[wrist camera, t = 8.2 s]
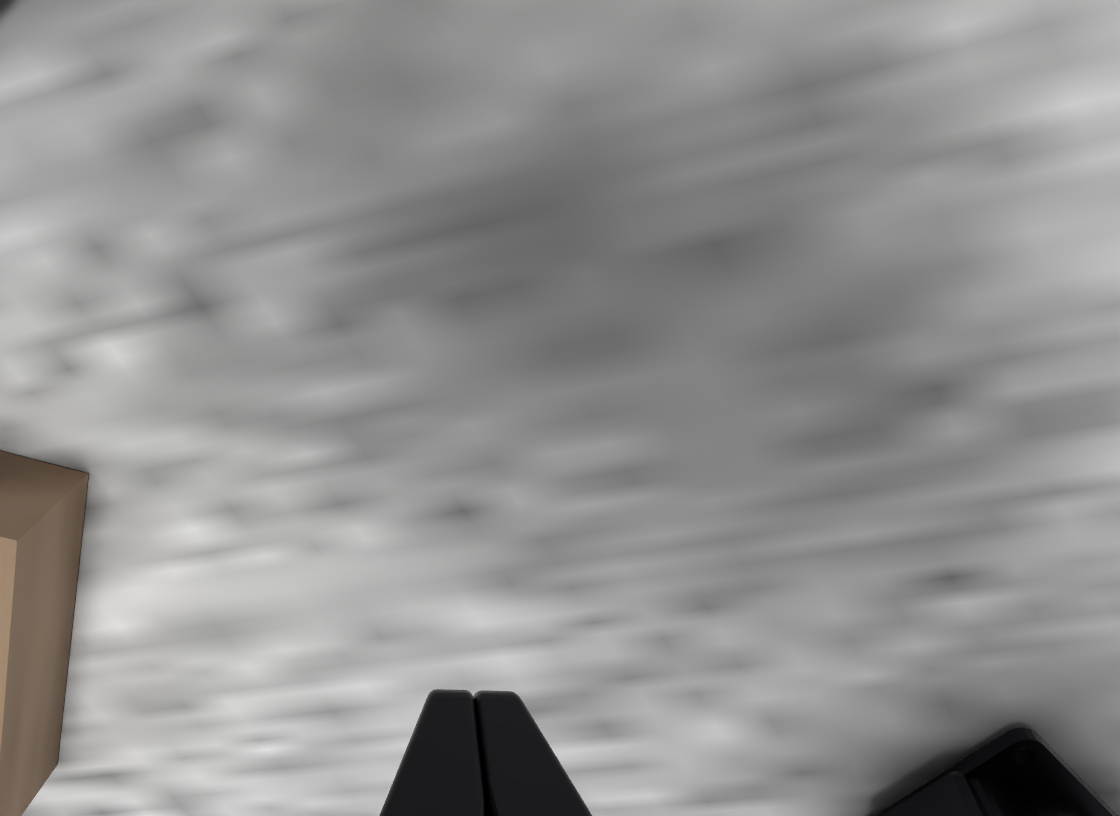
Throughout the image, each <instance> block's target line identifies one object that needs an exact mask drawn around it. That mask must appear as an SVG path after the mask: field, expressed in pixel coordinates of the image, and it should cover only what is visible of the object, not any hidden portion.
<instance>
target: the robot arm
mask: <svg viewBox="0 0 1120 816" xmlns="http://www.w3.org/2000/svg"><path fill="white" fill-rule="evenodd" d="M1024 747H1028V748H1027V749H1026V750H1025V751H1022V752H1017V751H1018V750H1019V749H1022V748H1024ZM380 816H592V815H591V813H590V811H589V810H588V808H587V806H586V805H585V803H584V801H583V800H582V798H581V797H580V795H579V793H578V792H577V790H576V788H575V787H574V785H573V783H572V782H571V780H570V778H569V777H568V775H567V774H566V772H565V770H564V769H563V767H562V765H561V764H560V762H559V760H558V759H557V757H556V756H555V754H554V752H553V751H552V749H551V747H550V746H549V744H548V742H547V741H546V739H545V737H544V736H543V734H542V733H541V731H540V729H539V728H538V726H537V724H536V723H535V721H534V719H533V718H532V716H531V714H530V713H529V711H528V710H527V708H526V706H525V705H524V703H523V701H522V700H521V698H520V697H519V696H518V695H517V694H515V693H514V692H510V691H478V692H477V693H475V695H474V696H472V694H471V693H470V692H469V691H467V690H445V689H436V690H433V691H431V692H430V693H429V695H428V697H427V699H426V702H425V704H424V707H423V709H422V712H421V714H420V717H419V719H418V722H417V724H416V727H415V729H414V731H413V734H412V736H411V739H410V741H409V744H408V746H407V749H406V751H405V754H404V756H403V759H402V761H401V764H400V766H399V769H398V771H397V774H396V776H395V779H394V781H393V784H392V786H391V789H390V791H389V794H388V796H387V799H386V801H385V804H384V806H383V808H382V811H381V813H380ZM876 816H1117V815H1116V814H1115V813H1114V812H1113V811H1112V810H1111V809H1110V808H1109V807H1108V806H1107V805H1106V804H1105V803H1104V802H1103V801H1102V800H1101V799H1100V798H1099V797H1098V796H1097V795H1096V794H1095V793H1094V792H1093V791H1092V790H1091V789H1090V788H1089V786H1088V785H1087V784H1086V783H1085V782H1084V781H1083V780H1082V779H1081V778H1080V777H1079V776H1078V775H1077V774H1076V773H1075V772H1074V771H1073V770H1072V769H1071V768H1070V767H1069V766H1068V765H1067V764H1066V763H1065V762H1064V761H1063V760H1062V759H1061V758H1060V757H1059V756H1058V755H1057V754H1056V753H1055V752H1054V751H1053V750H1052V749H1051V748H1050V747H1049V746H1048V745H1047V743H1046V742H1045V741H1044V740H1043V739H1042V738H1041V737H1040V736H1039V735H1038V734H1037V733H1035V732H1034V731H1032V730H1031V729H1026V728H1017V729H1013V730H1011V731H1008V732H1006V733H1005V734H1003V735H1002V736H1000V737H999V738H997V739H995V740H994V741H992V742H991V743H989V744H988V745H986V746H984V747H983V748H981V749H980V750H978V751H977V752H975V753H973V754H972V755H970V756H969V757H967V758H966V759H964V760H962V761H961V762H959V763H958V764H956V765H955V766H953V767H951V768H950V769H948V770H947V771H945V772H944V773H942V774H940V775H939V776H937V777H936V778H934V779H933V780H931V781H929V782H928V783H926V784H925V785H923V786H922V787H920V788H918V789H917V790H915V791H914V792H912V793H911V794H909V795H907V796H906V797H904V798H903V799H901V800H900V801H898V802H896V803H895V804H893V805H892V806H890V807H889V808H887V809H885V810H884V811H882V812H881V813H879V814H878V815H876Z"/></svg>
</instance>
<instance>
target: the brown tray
mask: <svg viewBox="0 0 1120 816" xmlns="http://www.w3.org/2000/svg"><path fill="white" fill-rule="evenodd" d="M88 476H89V474H87V473H83V472H79V471H76V470H72V469H68V468H64V467H60V466H56V465H53V464H49V463H45V462H41V461H37V460H33V459H29V458H26V457H22V456H18V455H14V454H10V453H6V452H3V451H0V816H21V815H22V814H23V813H24V811H25V810H26V808H27V807H28V806H29V804H30V803H31V801H32V800H33V798H34V797H35V796H36V794H37V793H38V791H39V790H40V788H41V787H42V786H43V784H44V783H45V781H46V780H47V779H48V777H49V776H50V774H51V773H52V771H53V770H54V769H55V767H56V766H57V764H58V754H59V745H60V736H61V727H62V717H63V708H64V699H65V690H66V680H67V671H68V662H69V652H70V643H71V634H72V625H73V615H74V606H75V597H76V588H77V578H78V569H79V560H80V550H81V541H82V532H83V523H84V513H85V504H86V495H87V486H88Z"/></svg>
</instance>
